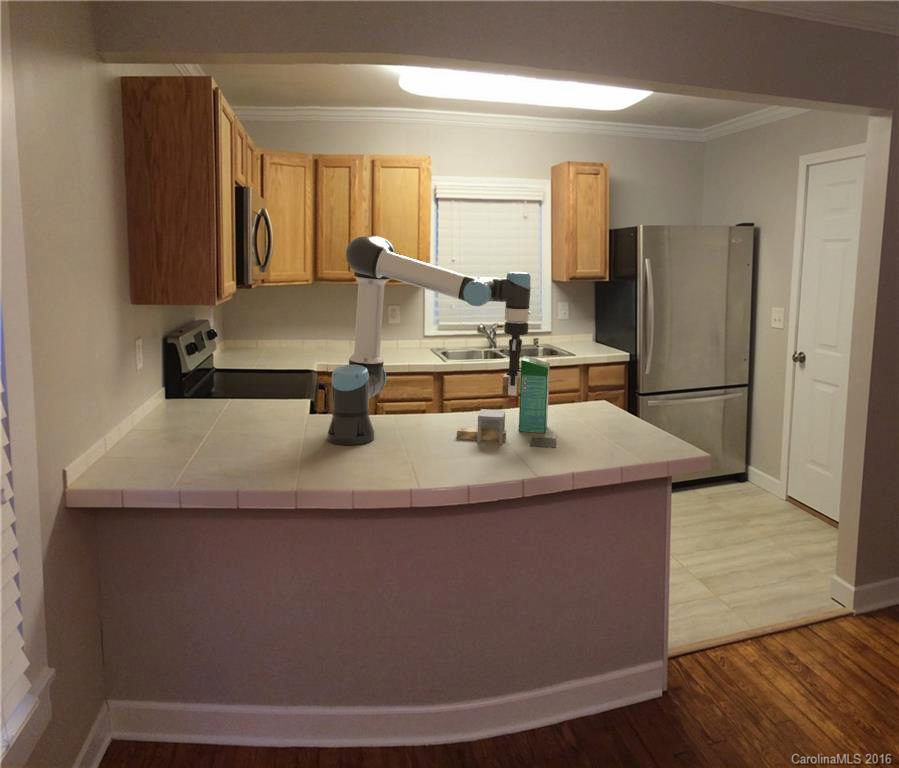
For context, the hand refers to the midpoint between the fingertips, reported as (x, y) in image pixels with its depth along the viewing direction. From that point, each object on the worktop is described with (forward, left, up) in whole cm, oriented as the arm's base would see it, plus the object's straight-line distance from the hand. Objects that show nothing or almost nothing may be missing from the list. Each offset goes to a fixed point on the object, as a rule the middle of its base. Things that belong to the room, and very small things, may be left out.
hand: (512, 393), depth 232 cm
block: (-1, 0, 0) cm, 1 cm away
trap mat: (+10, -1, -16) cm, 19 cm away
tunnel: (-7, -1, -16) cm, 17 cm away
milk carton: (+6, +15, -16) cm, 23 cm away
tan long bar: (-10, 0, -16) cm, 19 cm away
